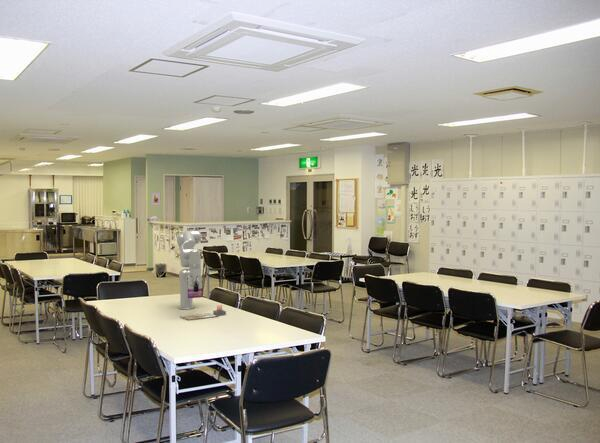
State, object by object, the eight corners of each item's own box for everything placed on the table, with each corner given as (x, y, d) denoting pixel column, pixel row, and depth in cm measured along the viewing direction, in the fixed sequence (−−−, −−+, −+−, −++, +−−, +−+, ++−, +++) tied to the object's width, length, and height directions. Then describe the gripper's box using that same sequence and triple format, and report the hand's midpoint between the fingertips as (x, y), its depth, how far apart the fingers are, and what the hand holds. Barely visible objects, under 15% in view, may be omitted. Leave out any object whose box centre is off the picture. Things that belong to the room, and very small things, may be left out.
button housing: (213, 314, 420) (213, 310, 420) (221, 313, 424) (221, 309, 424) (217, 316, 414) (217, 312, 414) (225, 315, 418) (225, 311, 418)
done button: (216, 312, 419) (215, 305, 419) (220, 311, 421) (220, 304, 421) (218, 312, 416) (218, 306, 416) (223, 312, 418) (223, 305, 418)
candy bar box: (201, 296, 412) (201, 274, 412) (202, 297, 407) (202, 275, 407) (186, 297, 408) (186, 275, 407) (187, 298, 403) (187, 275, 403)
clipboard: (179, 317, 409) (179, 316, 409) (210, 313, 423) (209, 312, 423) (187, 320, 397) (187, 319, 397) (218, 317, 410) (218, 315, 410)
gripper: (185, 266, 412) (185, 290, 412) (194, 268, 398) (194, 293, 398) (194, 265, 416) (194, 289, 417) (203, 267, 402) (204, 292, 402)
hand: (194, 291), depth 407 cm, fingers closed on candy bar box, 5 cm apart
